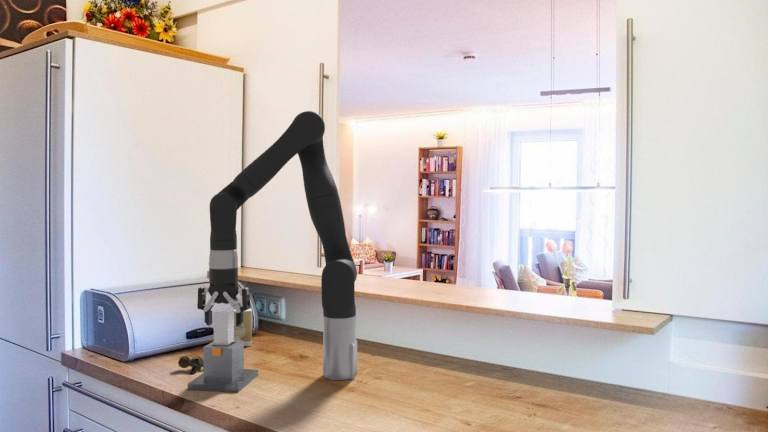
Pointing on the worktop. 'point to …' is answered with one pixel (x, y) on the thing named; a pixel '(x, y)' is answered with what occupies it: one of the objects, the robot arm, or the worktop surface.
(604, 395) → the worktop surface
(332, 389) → the worktop surface
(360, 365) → the worktop surface
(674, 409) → the worktop surface
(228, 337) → the column
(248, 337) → the skincare box
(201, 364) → the regulator
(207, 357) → the stand base
